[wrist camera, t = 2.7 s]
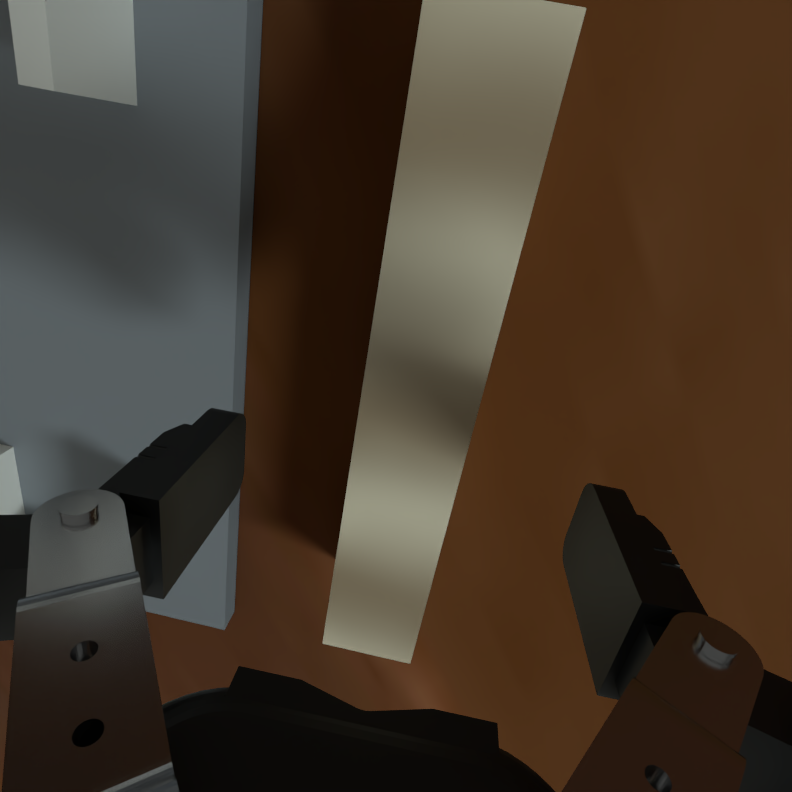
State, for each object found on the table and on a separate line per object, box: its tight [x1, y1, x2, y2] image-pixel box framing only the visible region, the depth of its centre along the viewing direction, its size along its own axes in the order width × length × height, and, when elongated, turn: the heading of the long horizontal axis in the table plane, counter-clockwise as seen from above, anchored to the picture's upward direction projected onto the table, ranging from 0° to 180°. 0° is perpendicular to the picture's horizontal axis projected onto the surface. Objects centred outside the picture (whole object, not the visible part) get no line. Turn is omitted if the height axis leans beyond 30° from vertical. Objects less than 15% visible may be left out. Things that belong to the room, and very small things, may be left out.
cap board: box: [0, 0, 263, 630], centre depth 15 cm, size 26×12×4 cm, turn 170°
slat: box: [323, 0, 586, 664], centre depth 15 cm, size 18×3×4 cm, turn 170°
